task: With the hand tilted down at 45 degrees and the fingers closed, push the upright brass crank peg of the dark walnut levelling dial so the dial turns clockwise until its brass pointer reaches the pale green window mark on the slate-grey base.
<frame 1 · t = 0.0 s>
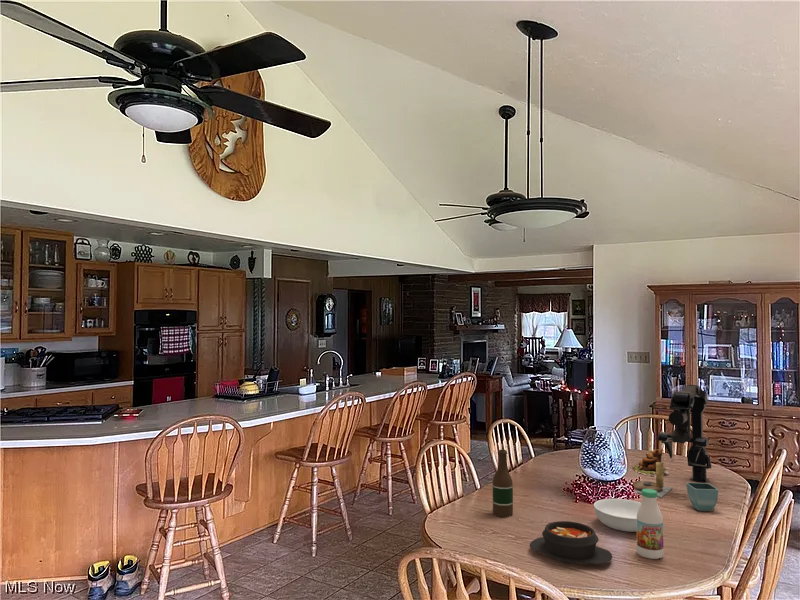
hand: (683, 459, 241), 15 cm above the table, tool pointing down, fingers open, 9 cm apart
beer bottle: (502, 514, 218), on the table
serving bowl: (624, 527, 205), on the table
casserole: (570, 556, 181), on the table
bear figurine: (650, 473, 276), on the table
flower pot: (702, 509, 224), on the table
milk bottle: (650, 555, 182), on the table
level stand: (647, 489, 248), on the table
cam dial: (647, 474, 248), point 7 cm above the table, hinge at 0.0°
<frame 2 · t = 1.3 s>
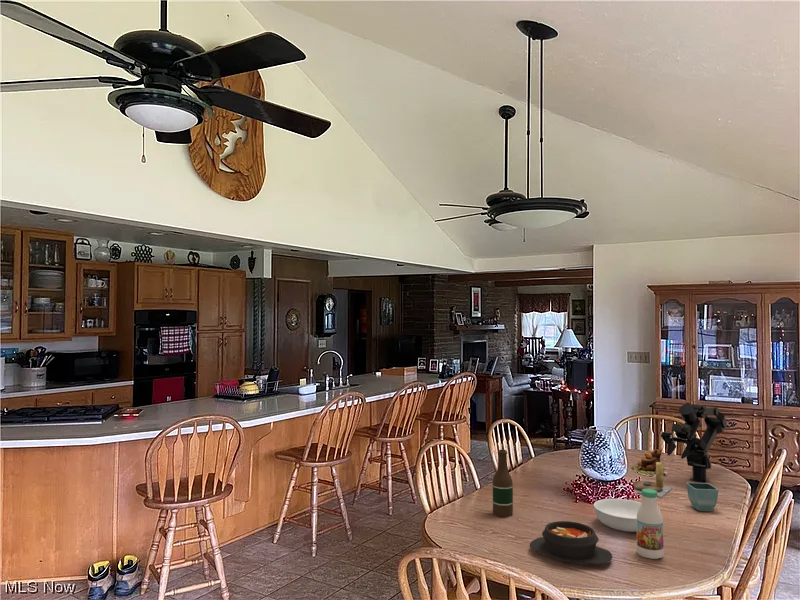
hand: (674, 456, 251), 14 cm above the table, tool tilted 45°, fingers open, 6 cm apart
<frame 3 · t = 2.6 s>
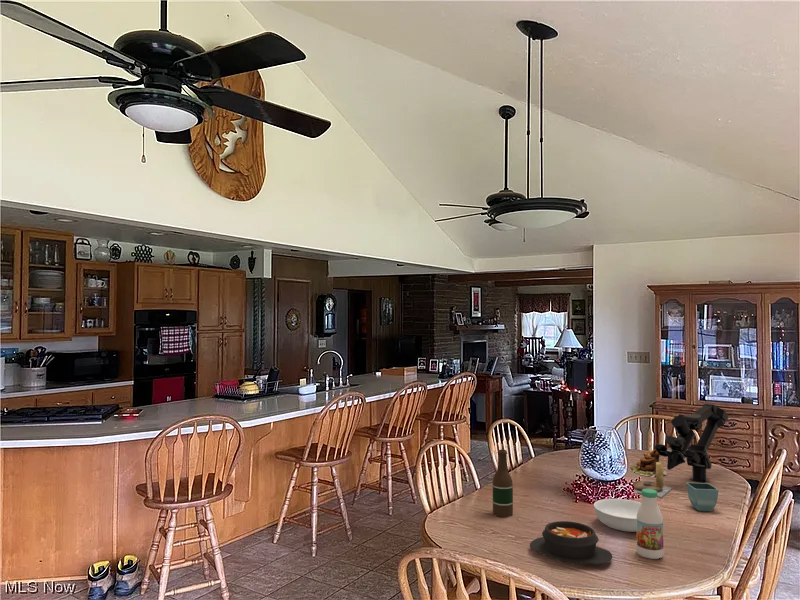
hand: (668, 469, 249), 9 cm above the table, tool tilted 45°, fingers closed
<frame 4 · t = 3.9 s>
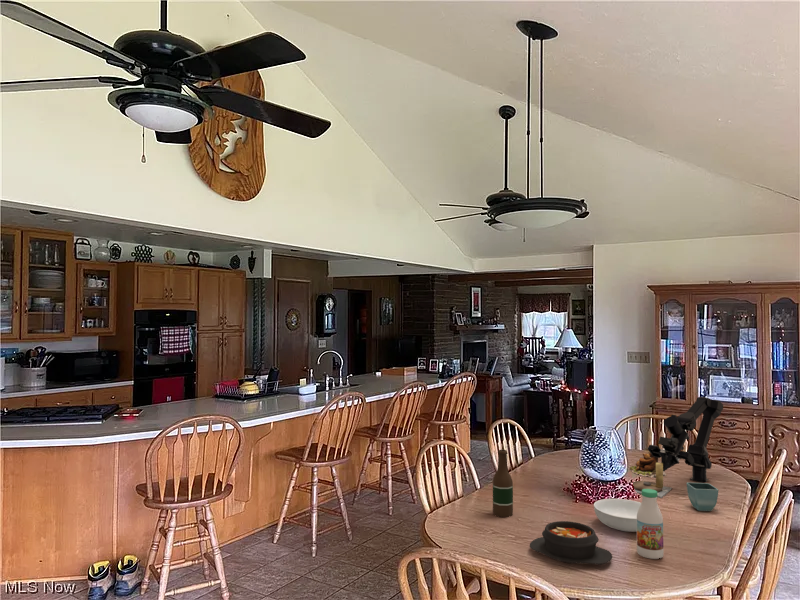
hand: (662, 470, 246), 9 cm above the table, tool tilted 45°, fingers closed, pressing on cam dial
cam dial: (647, 474, 248), point 7 cm above the table, hinge at 7.5°, touching gripper
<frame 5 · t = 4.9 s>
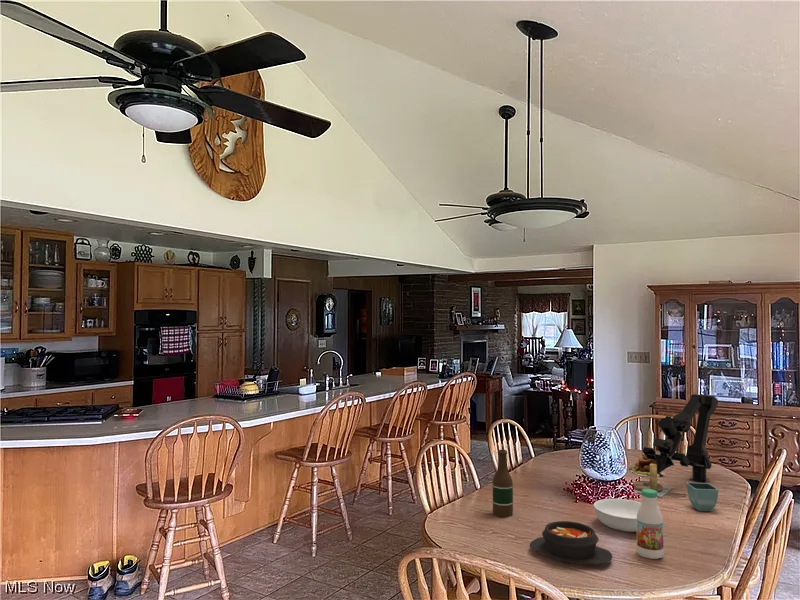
hand: (657, 472, 243), 9 cm above the table, tool tilted 45°, fingers closed, pressing on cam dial
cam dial: (647, 474, 248), point 7 cm above the table, hinge at 53.8°, touching gripper
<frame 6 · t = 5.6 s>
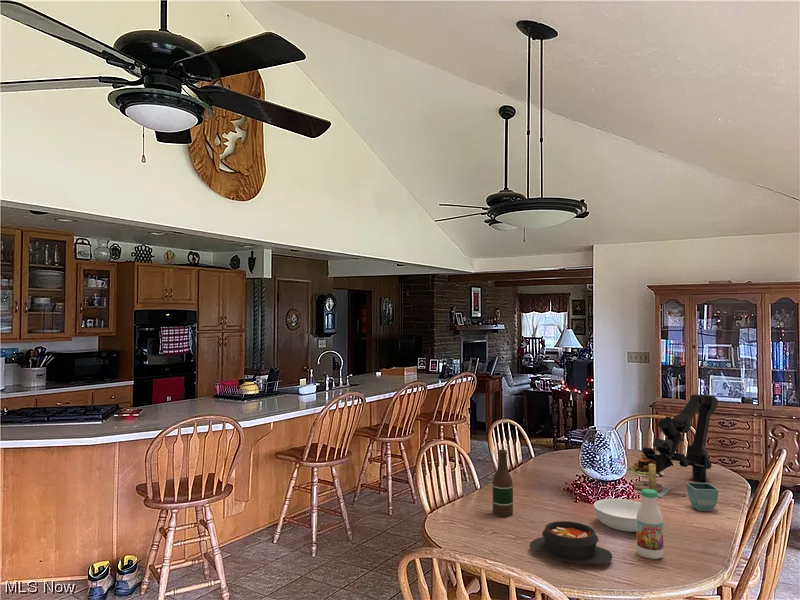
hand: (656, 472, 243), 9 cm above the table, tool tilted 45°, fingers closed
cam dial: (647, 474, 248), point 7 cm above the table, hinge at 59.1°
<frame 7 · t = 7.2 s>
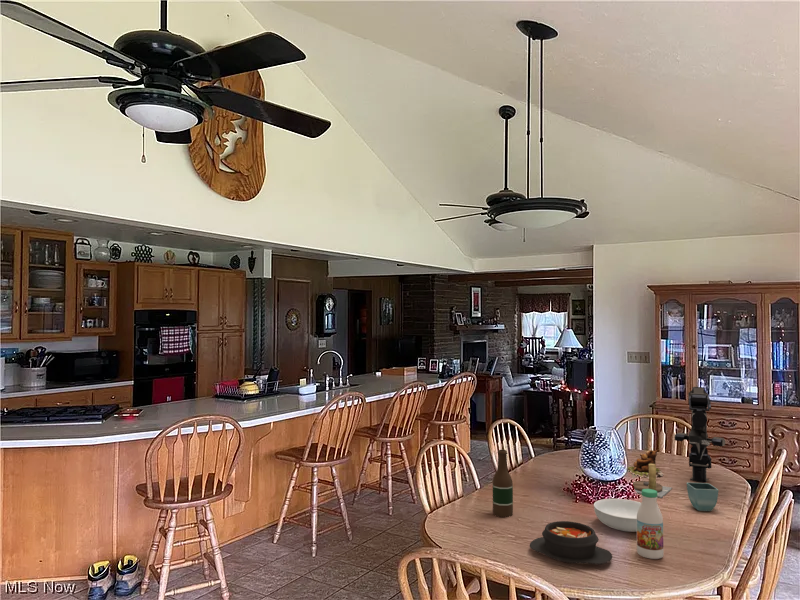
hand: (699, 459, 248), 13 cm above the table, tool pointing down, fingers closed
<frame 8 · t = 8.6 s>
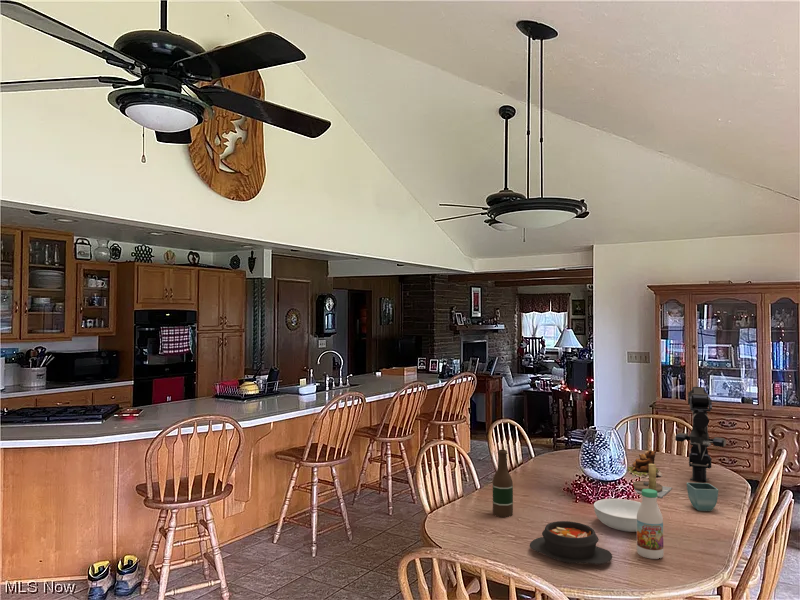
hand: (700, 459, 248), 13 cm above the table, tool pointing down, fingers closed
at the end: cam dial at +59° (first picture: +0°) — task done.
